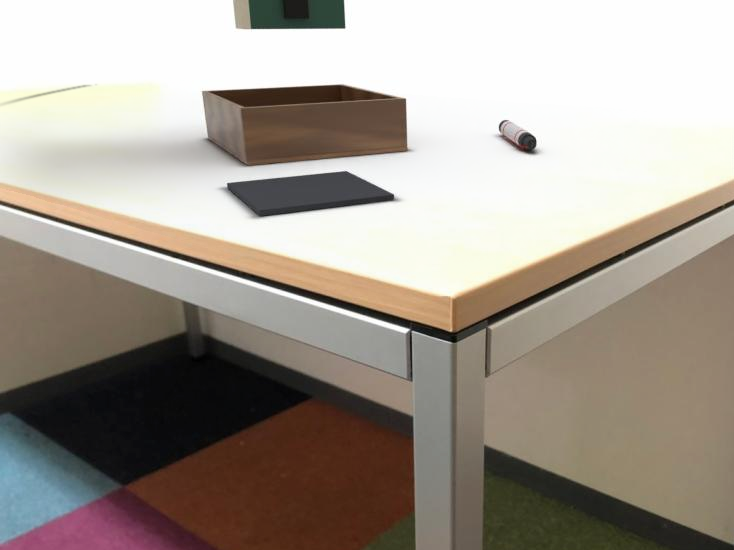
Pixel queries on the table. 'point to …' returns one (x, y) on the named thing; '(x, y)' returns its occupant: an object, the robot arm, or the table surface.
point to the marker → (517, 135)
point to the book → (266, 11)
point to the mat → (307, 192)
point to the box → (304, 122)
